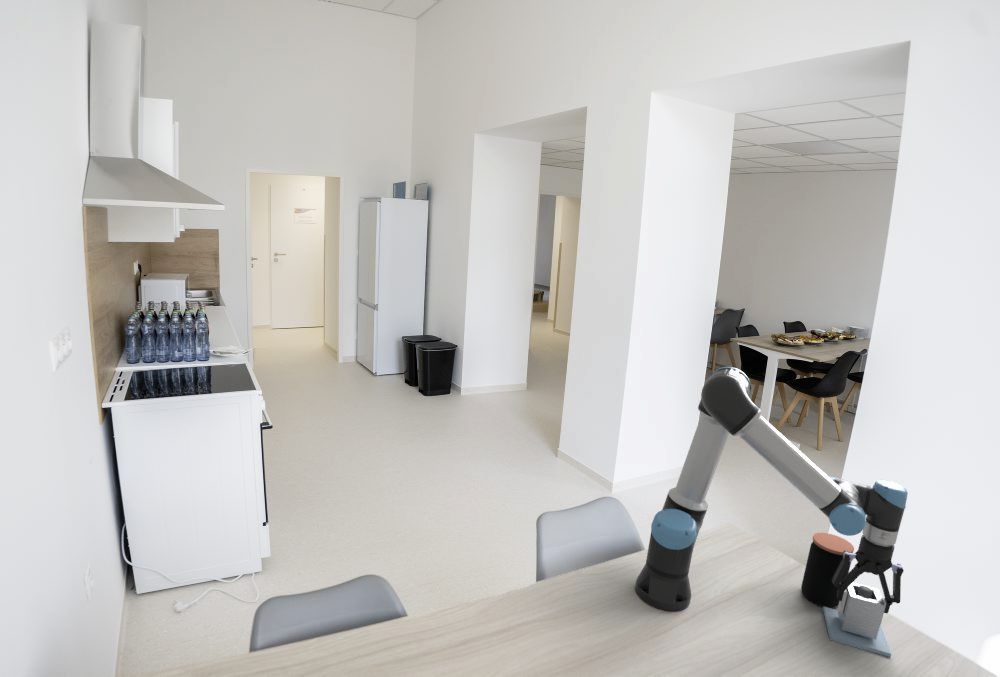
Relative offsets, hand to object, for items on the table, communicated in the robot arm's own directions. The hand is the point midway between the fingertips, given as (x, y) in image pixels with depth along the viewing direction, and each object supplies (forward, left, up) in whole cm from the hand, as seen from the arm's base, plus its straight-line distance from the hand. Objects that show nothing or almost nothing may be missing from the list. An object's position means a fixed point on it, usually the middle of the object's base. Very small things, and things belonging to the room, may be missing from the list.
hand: (858, 616), depth 166 cm
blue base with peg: (0, 0, -5) cm, 5 cm away
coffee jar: (-7, +13, -5) cm, 16 cm away
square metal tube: (0, 0, -3) cm, 3 cm away
